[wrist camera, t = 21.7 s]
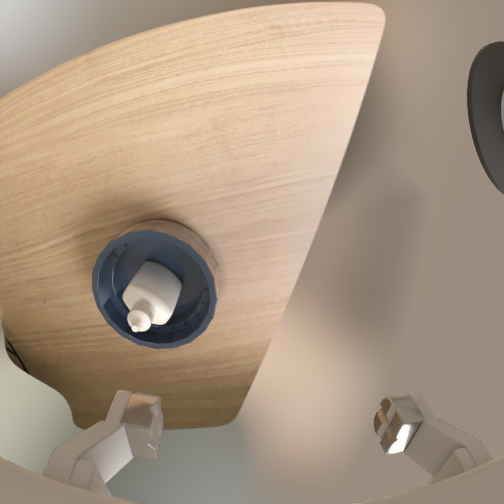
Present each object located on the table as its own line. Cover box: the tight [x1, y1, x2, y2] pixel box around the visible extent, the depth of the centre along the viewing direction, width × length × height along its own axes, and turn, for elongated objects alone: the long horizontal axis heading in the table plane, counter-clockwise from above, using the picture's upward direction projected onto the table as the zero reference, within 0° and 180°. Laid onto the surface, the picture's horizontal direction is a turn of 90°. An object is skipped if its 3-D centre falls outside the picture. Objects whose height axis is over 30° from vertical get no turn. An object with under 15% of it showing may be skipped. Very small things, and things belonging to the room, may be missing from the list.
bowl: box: [92, 220, 219, 349], centre depth 37 cm, size 15×15×6 cm
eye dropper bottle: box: [123, 261, 182, 332], centre depth 33 cm, size 4×6×12 cm
